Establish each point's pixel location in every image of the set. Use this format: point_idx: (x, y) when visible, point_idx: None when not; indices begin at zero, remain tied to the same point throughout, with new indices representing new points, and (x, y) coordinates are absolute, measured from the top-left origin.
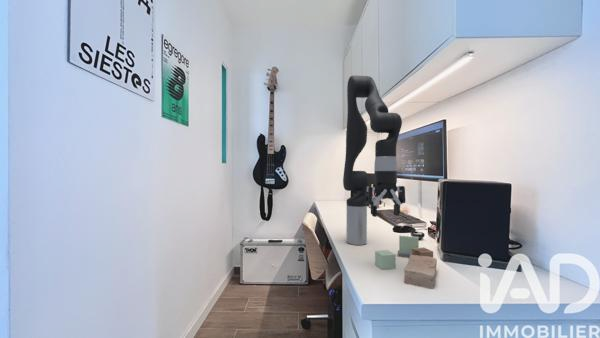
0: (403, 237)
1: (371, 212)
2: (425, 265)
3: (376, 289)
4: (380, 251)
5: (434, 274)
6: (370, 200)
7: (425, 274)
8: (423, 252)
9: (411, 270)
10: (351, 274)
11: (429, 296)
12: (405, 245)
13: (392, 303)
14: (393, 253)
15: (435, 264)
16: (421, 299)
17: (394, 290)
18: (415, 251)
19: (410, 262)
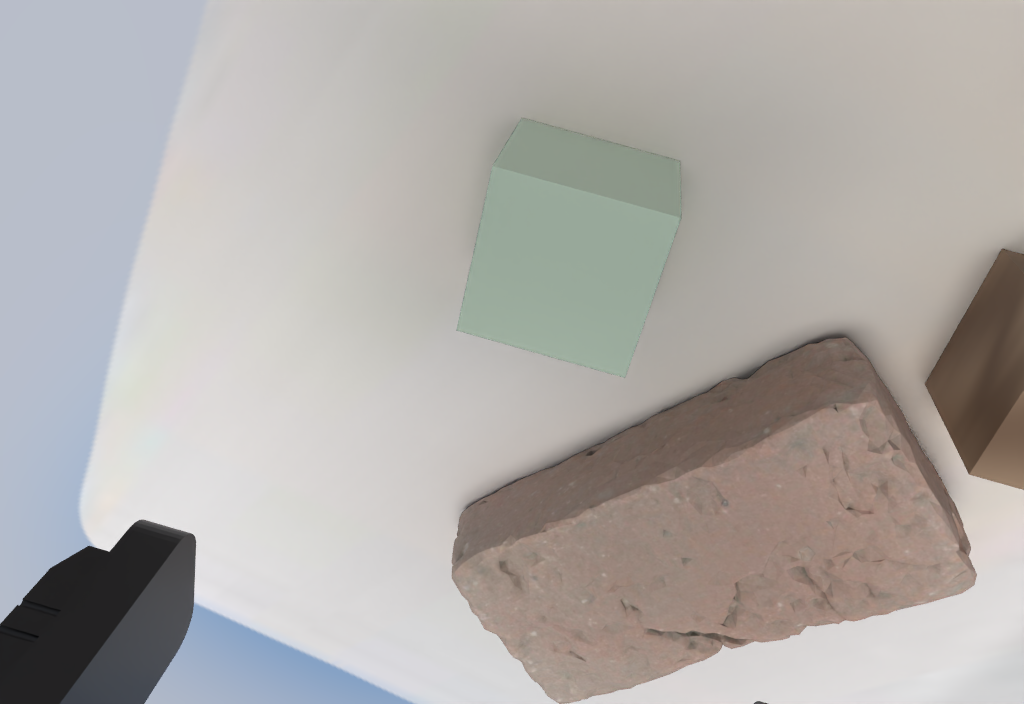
0: None
1: (49, 604)
2: (697, 605)
3: (212, 475)
4: (542, 215)
5: (607, 691)
6: None
7: (529, 674)
8: (1002, 483)
9: (475, 613)
10: (153, 204)
11: (457, 663)
12: None
13: (207, 607)
14: (633, 342)
15: (818, 625)
16: (386, 657)
17: (315, 536)
18: (1016, 377)
19: (639, 512)
